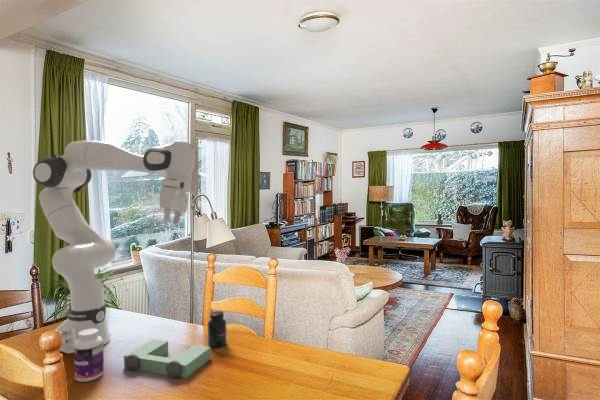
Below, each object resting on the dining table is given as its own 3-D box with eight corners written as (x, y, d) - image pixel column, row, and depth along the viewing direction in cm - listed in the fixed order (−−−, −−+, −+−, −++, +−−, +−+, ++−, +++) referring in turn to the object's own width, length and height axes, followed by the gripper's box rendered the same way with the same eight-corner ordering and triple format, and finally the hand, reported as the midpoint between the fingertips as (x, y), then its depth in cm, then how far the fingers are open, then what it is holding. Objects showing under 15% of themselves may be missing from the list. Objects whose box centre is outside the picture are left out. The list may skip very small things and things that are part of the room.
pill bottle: (68, 380, 117) (66, 334, 117) (91, 369, 125) (90, 325, 124) (87, 385, 114) (85, 338, 114) (109, 373, 122) (108, 328, 121)
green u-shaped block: (121, 369, 124) (121, 354, 124) (153, 350, 138) (152, 336, 138) (184, 380, 116) (183, 363, 116) (210, 358, 131) (210, 344, 131)
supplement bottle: (222, 349, 138) (221, 316, 138) (204, 347, 140) (204, 315, 139) (229, 341, 145) (228, 310, 145) (212, 340, 146) (212, 309, 146)
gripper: (178, 188, 148) (171, 223, 146) (159, 179, 128) (151, 220, 126) (194, 190, 148) (188, 226, 146) (178, 181, 128) (170, 222, 126)
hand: (171, 223), depth 136 cm, fingers open, 8 cm apart
